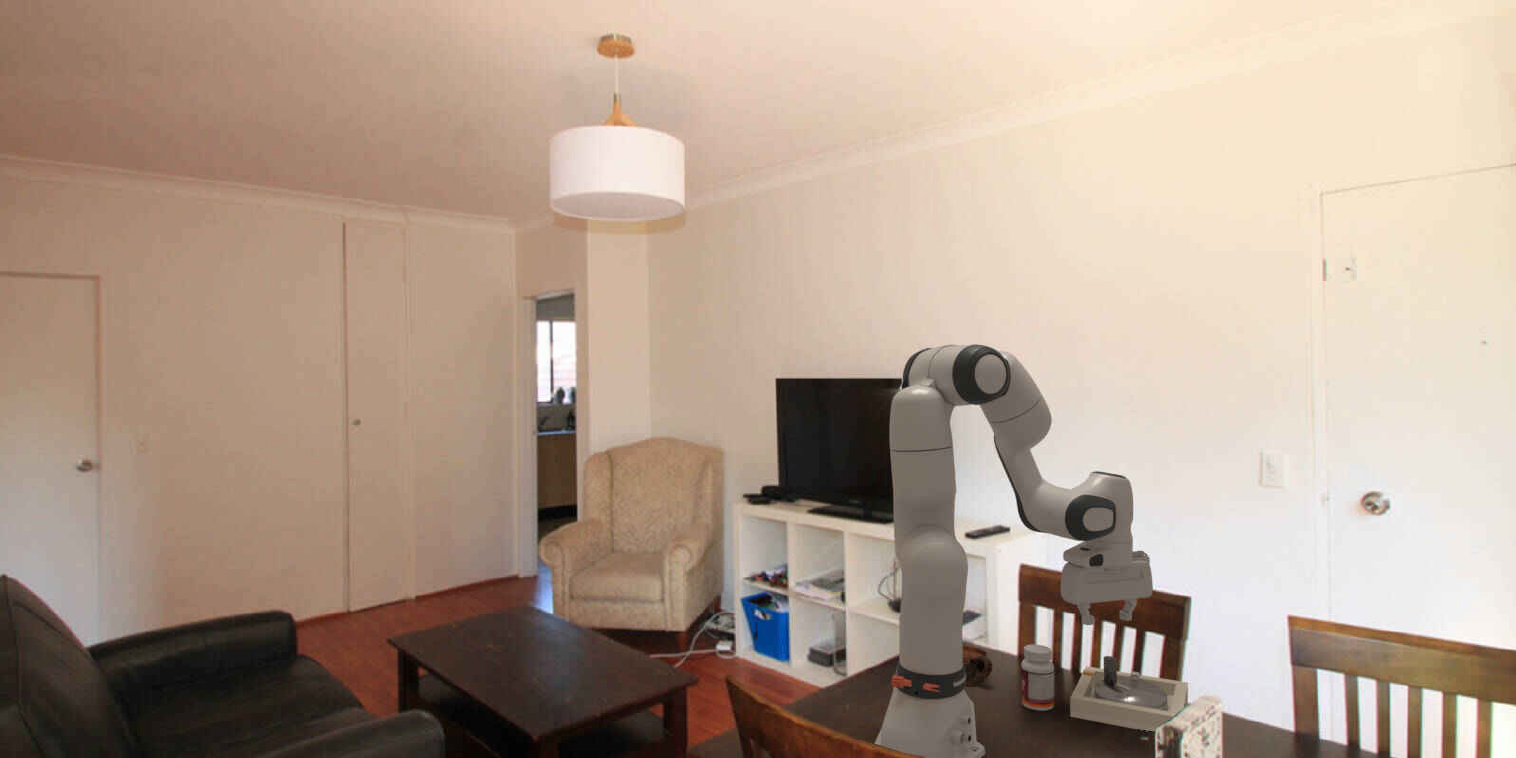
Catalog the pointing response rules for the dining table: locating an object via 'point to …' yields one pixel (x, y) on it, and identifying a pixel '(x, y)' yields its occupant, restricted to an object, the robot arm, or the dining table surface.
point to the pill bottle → (1037, 678)
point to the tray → (1121, 713)
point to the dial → (1128, 689)
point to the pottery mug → (975, 664)
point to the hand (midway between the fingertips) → (1106, 622)
